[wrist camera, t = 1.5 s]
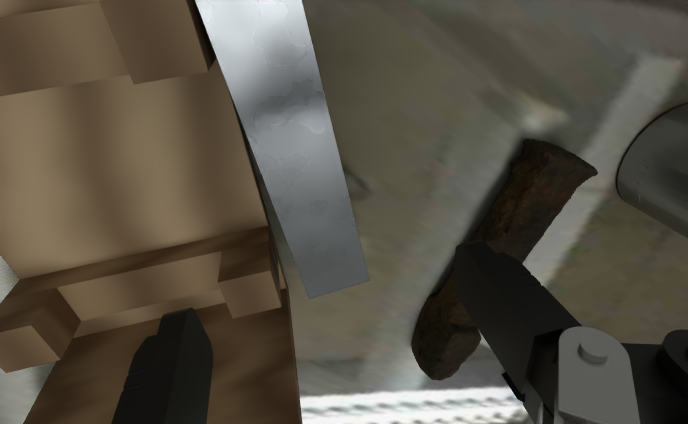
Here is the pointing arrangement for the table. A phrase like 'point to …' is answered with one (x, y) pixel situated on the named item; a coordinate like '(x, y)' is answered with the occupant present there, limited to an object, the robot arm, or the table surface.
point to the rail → (289, 133)
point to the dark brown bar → (499, 248)
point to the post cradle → (132, 210)
